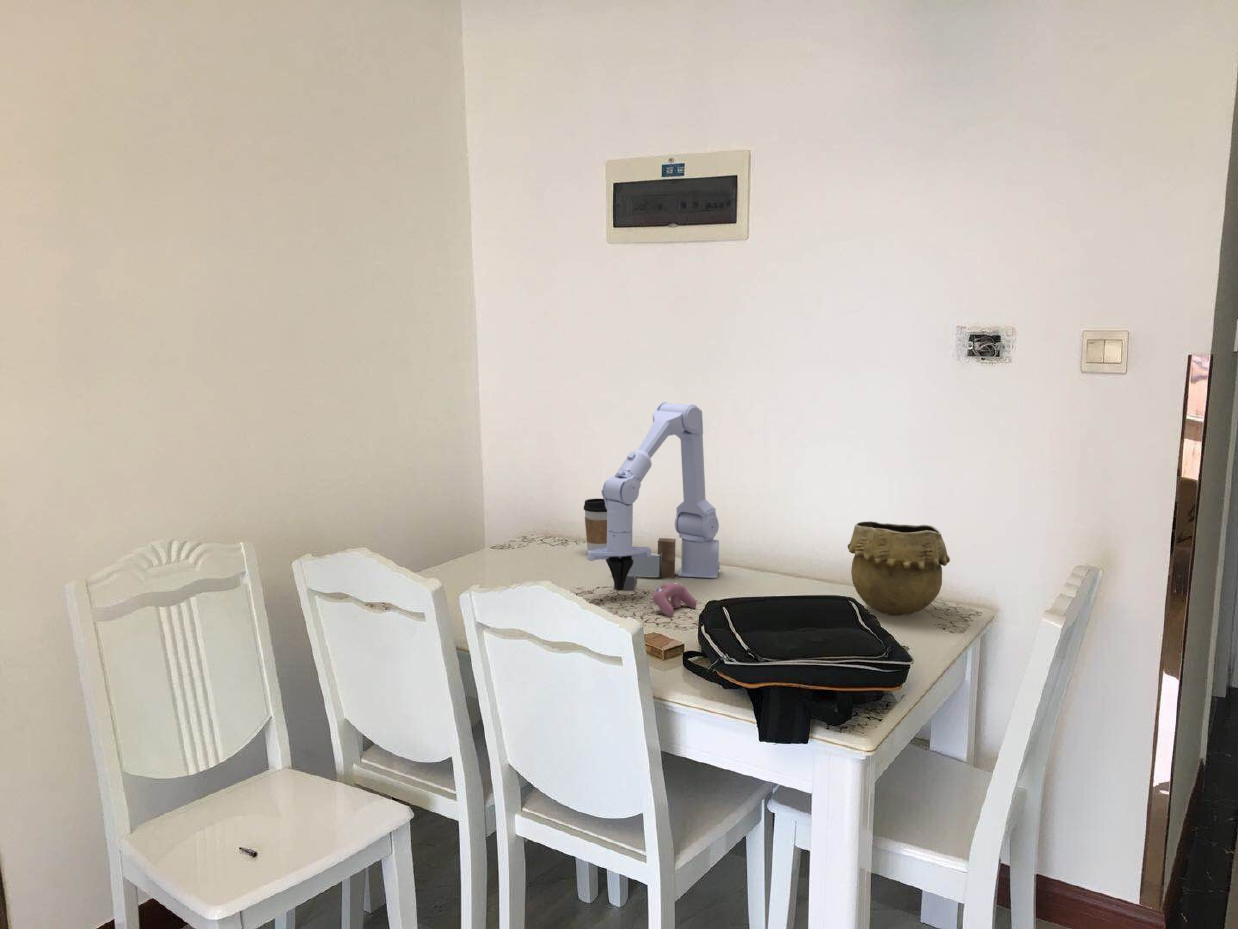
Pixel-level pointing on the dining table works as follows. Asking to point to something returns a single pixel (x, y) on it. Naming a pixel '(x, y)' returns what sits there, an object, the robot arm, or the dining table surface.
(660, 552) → the door post
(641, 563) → the door leaf
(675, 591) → the video game controller
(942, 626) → the dining table surface
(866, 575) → the clay pot
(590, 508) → the coffee cup
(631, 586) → the grey stepped block
